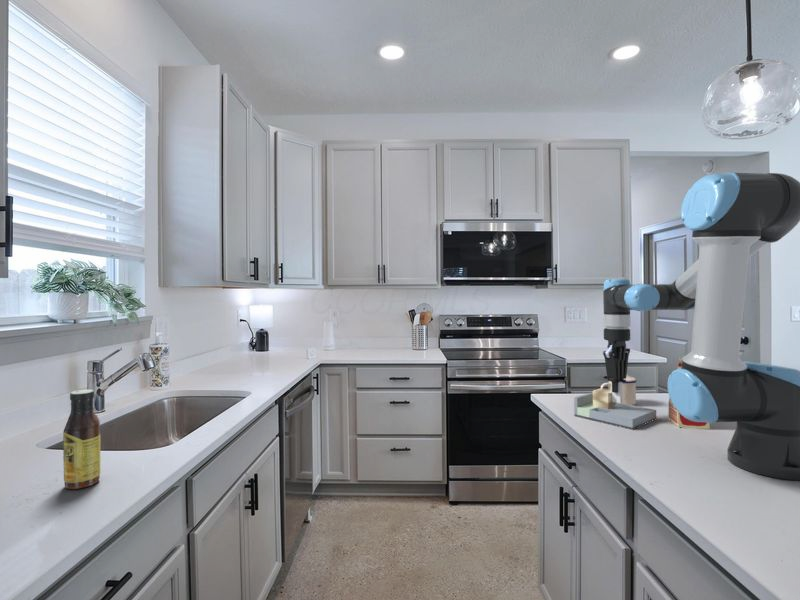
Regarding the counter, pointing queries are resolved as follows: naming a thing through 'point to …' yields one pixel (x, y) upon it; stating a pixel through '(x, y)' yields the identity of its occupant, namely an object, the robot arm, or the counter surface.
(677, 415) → the milk carton
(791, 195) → the robot arm
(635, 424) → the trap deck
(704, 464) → the counter surface
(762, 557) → the counter surface
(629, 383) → the teacup with lid
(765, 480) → the counter surface
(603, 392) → the maple block
